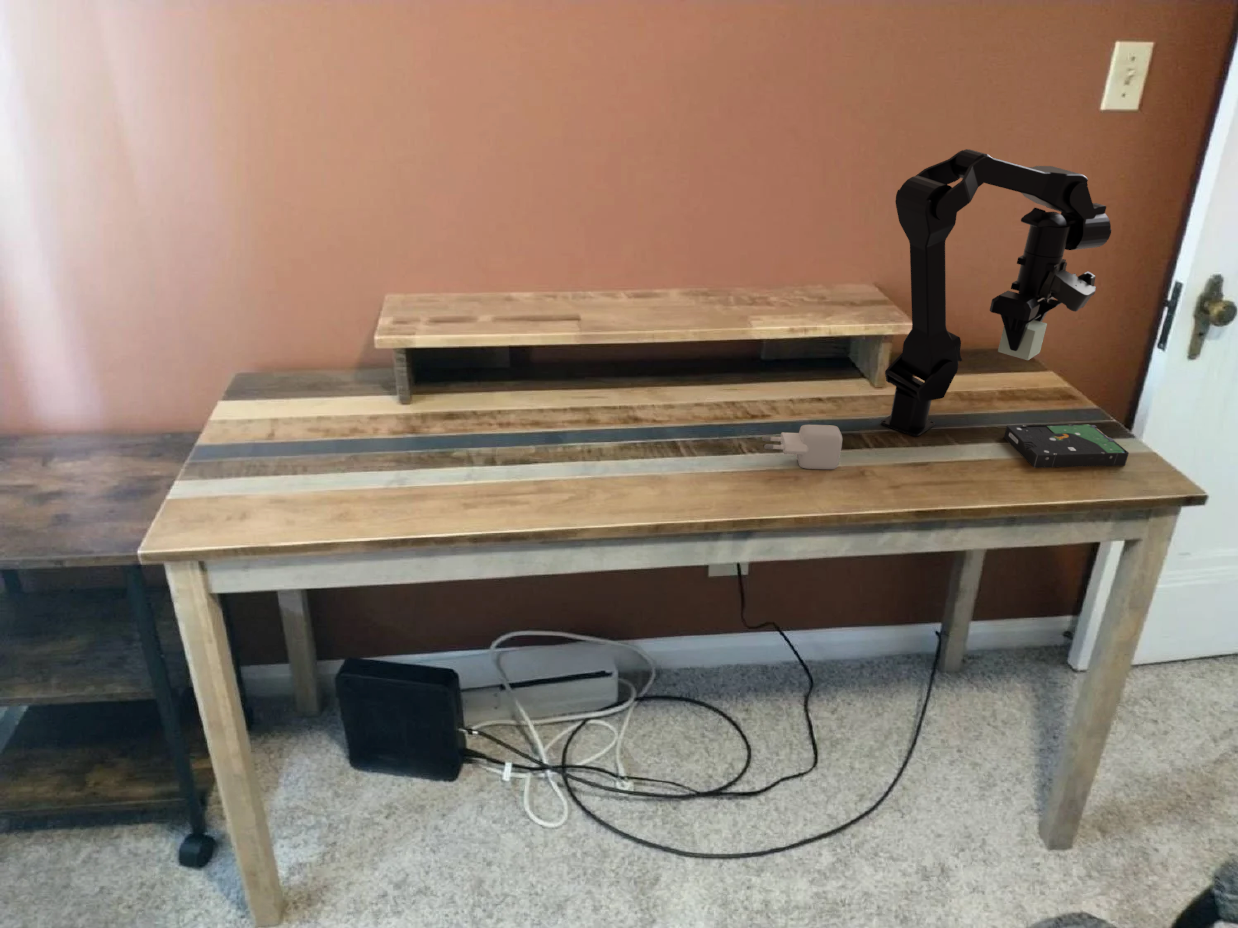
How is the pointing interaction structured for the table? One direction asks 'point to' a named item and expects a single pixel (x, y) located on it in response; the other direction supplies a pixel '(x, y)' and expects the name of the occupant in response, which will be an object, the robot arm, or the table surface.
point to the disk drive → (1065, 445)
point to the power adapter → (811, 446)
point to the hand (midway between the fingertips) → (1020, 346)
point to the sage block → (1025, 341)
